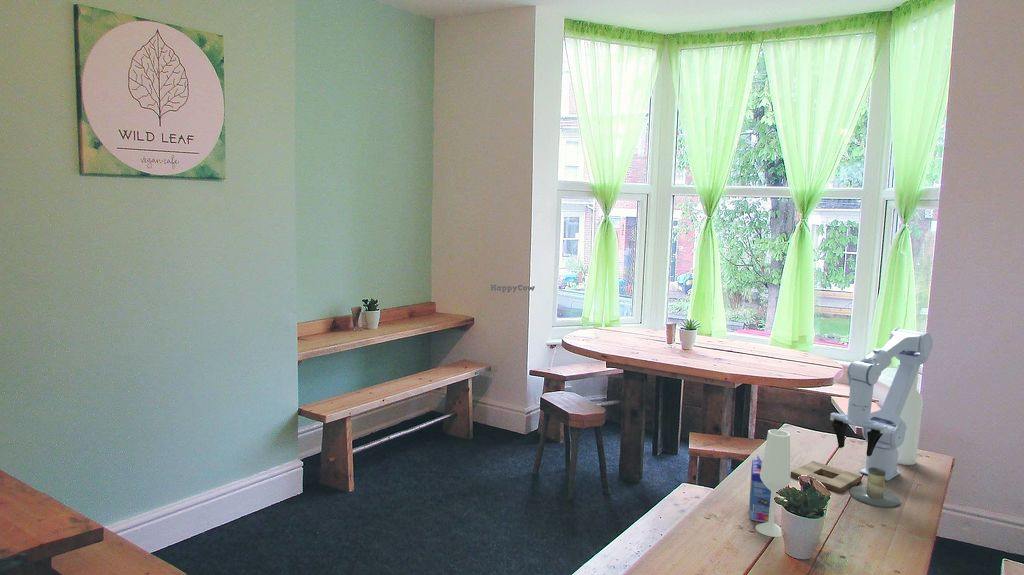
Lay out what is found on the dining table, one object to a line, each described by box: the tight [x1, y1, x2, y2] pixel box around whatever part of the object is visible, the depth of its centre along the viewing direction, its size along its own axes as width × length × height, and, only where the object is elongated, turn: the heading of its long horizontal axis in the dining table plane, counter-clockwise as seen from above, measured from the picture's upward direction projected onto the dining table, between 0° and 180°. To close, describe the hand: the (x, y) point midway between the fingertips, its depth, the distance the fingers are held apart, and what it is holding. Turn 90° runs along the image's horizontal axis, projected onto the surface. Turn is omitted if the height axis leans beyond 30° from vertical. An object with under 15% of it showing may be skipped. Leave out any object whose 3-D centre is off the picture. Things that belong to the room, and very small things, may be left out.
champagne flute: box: [755, 429, 791, 538], centre depth 160 cm, size 7×7×24 cm
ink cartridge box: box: [748, 455, 771, 523], centre depth 169 cm, size 10×6×14 cm, turn 161°
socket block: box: [790, 460, 863, 494], centre depth 194 cm, size 14×14×2 cm
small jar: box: [866, 467, 886, 498], centre depth 182 cm, size 4×4×7 cm
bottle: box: [897, 369, 924, 466], centre depth 209 cm, size 8×8×30 cm
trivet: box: [849, 485, 901, 508], centre depth 182 cm, size 12×12×1 cm
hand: (854, 451), depth 190 cm, fingers open, 7 cm apart
